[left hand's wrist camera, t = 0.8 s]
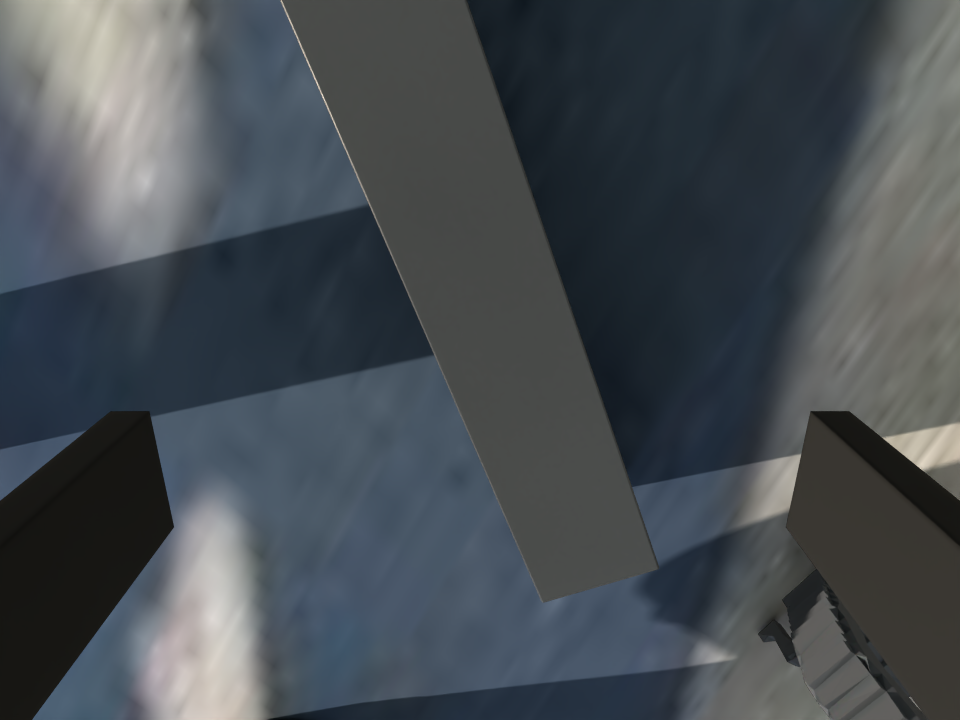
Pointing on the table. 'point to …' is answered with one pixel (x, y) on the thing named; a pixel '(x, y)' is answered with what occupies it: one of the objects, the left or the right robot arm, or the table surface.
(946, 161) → the table surface
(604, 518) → the post
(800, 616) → the toy
